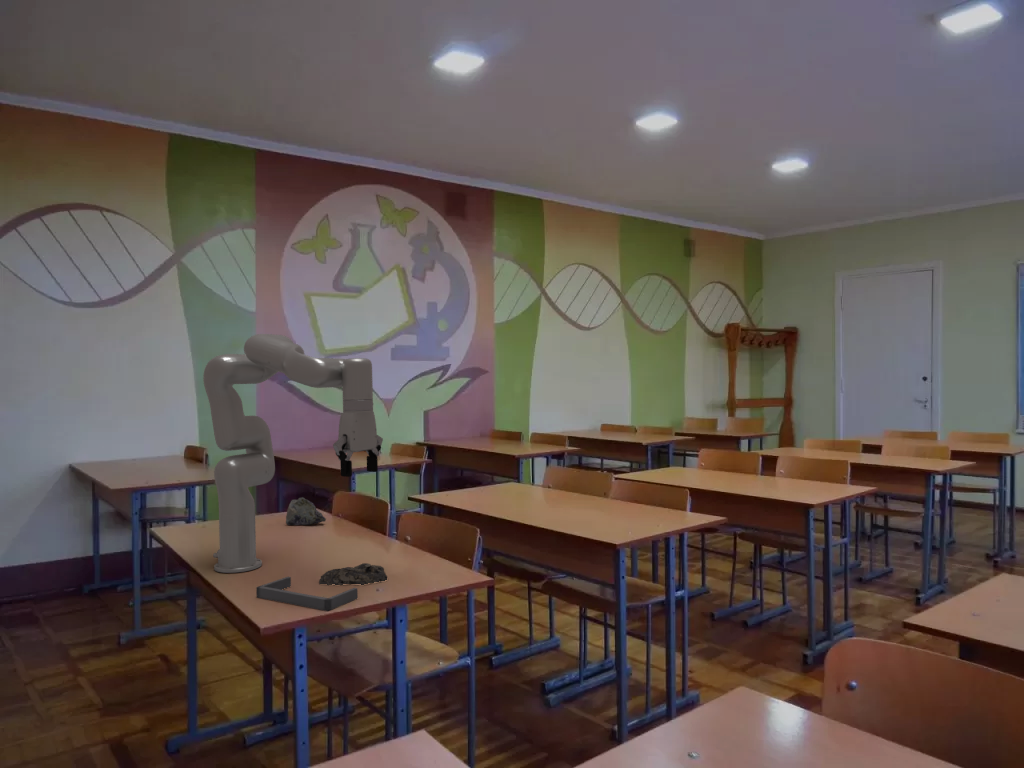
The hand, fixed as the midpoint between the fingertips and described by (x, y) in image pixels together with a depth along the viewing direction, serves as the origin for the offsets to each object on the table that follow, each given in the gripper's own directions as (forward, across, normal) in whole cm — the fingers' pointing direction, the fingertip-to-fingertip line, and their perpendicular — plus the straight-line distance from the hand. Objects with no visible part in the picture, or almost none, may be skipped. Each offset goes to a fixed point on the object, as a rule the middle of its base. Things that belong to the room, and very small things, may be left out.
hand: (359, 473), depth 185 cm
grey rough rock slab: (+29, -4, -5) cm, 30 cm away
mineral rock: (+28, -48, -69) cm, 89 cm away
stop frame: (+28, +14, -5) cm, 32 cm away
